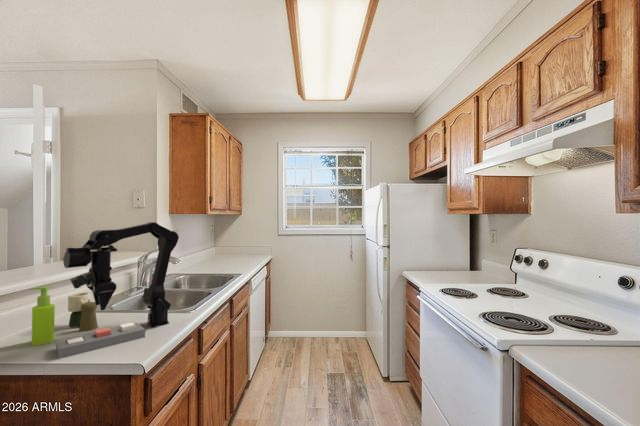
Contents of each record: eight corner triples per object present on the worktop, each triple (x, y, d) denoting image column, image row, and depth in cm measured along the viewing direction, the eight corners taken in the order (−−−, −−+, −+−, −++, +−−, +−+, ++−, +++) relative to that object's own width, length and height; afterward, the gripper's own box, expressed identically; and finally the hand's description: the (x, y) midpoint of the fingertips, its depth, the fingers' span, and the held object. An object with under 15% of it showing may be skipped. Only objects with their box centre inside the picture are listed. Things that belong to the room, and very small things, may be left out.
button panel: (137, 331, 117) (137, 322, 117) (144, 338, 110) (145, 329, 110) (55, 350, 100) (56, 340, 100) (59, 360, 93) (59, 349, 93)
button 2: (132, 330, 114) (132, 322, 114) (135, 332, 111) (135, 324, 111) (119, 333, 111) (119, 324, 111) (122, 335, 108) (122, 327, 108)
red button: (108, 335, 108) (108, 327, 108) (110, 338, 105) (110, 330, 105) (94, 338, 105) (94, 330, 105) (96, 342, 102) (96, 333, 103)
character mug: (92, 326, 123) (93, 294, 124) (70, 331, 118) (71, 298, 118) (85, 320, 130) (86, 290, 131) (64, 325, 125) (65, 294, 125)
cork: (87, 333, 116) (87, 304, 116) (74, 332, 117) (75, 304, 117) (101, 328, 122) (102, 300, 122) (89, 327, 123) (89, 300, 123)
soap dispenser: (37, 340, 109) (39, 285, 110) (58, 339, 110) (59, 285, 110) (23, 347, 103) (24, 289, 104) (44, 346, 104) (46, 288, 104)
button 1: (81, 345, 103) (82, 337, 103) (83, 349, 100) (84, 340, 100) (66, 349, 100) (66, 340, 100) (68, 353, 97) (68, 343, 97)
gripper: (69, 264, 110) (68, 306, 110) (76, 270, 97) (75, 318, 97) (105, 261, 118) (104, 301, 118) (117, 266, 105) (116, 310, 105)
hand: (100, 307), depth 109 cm, fingers open, 9 cm apart
